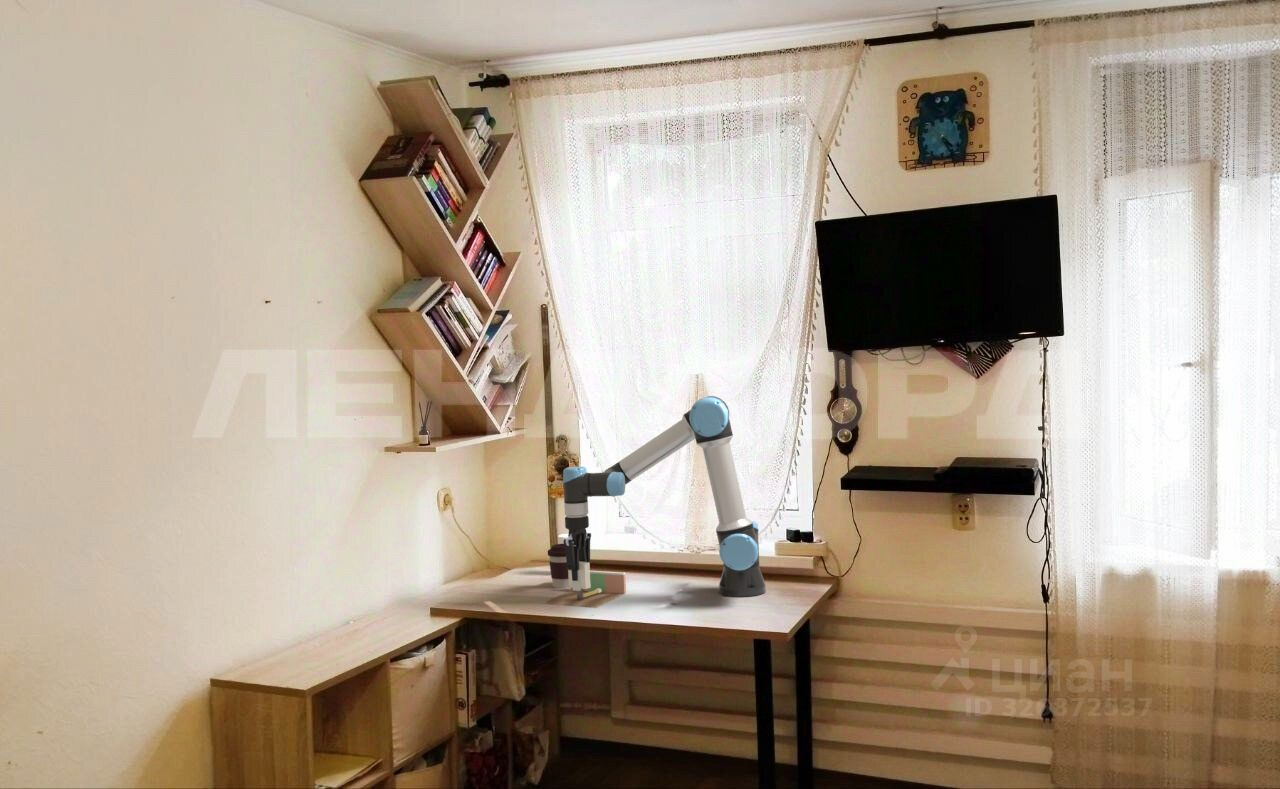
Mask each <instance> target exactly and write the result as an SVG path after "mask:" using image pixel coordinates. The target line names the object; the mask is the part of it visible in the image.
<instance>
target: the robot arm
mask: <svg viewBox="0 0 1280 789" xmlns="http://www.w3.org/2000/svg"><path fill="white" fill-rule="evenodd" d="M733 437H734V434H733V430H732V425H731V420H730V409H729V406H728V404H727V403H726V402H725V401H724V400H723V399H721V398H720V397H717V396H714V395H708V396H705V397H702V398H700V399H697V401H695V403H693V404H692V406H691V408H690V409H689V410H688V411H687V412H686V413H684V414H682V419H681V420H679V421H677V422H676V423H674V424H672V425H671V426H670V427H669V428H667V429H665V430H664V431H662V432H661V433H659V434H658V435H656V436H655V437H653V438H652V439H650V440H649V441H647V442H646V443H644V444H643V445H641V446H640V447H639V448H636V449H635V450H634V451H633V452H631V453H629V454H628V455H627V456H625V457H623V458H622V459H621V460H620V461H618V462H616V463H615V464H613V465H612V466H610V467H608V468H607V469H605V470H604V471H602V472H588V470H587V467H586V466H569V467H566V468H564V469H563V471H562V474H563V476H562V479H563V480H562V485H563V486H562V487H563V488H562V489H563V502H564V515H565V517H564V525H565V526H564V527H565V529H566V530H568V533H567V534H568V538H567V539H564V545H565V551H566V561H567V569H568V570H571V571H572V587H573V590H574V591H581V575H580V570H579V561H580V562H590V563H591V537H592V533H591V532H587V529H588V528H589V526H590V523H589V521H590V520H589V516H588V514H589V500H588V498H589V497H618V496H619V497H620V496H623V495H624V494H625V493H626V492H625V491H626V485H627V484H629V483H630V482H631V481H633V480H635V479H636V478H638V477H639V476H641V475H642V474H644V473H645V472H647V471H648V470H650V469H651V468H653V467H654V466H656V465H657V464H659V463H660V462H662V461H664V460H665V459H667V458H668V457H670V456H671V455H673V454H674V453H676V452H678V450H679V451H680V449H682V448H683V447H685V446H687V445H688V444H689V443H691V442H692V441H694V440H695V442H696V445H697V446H699V447H700V448H701V449H702V452H703V456H704V460H705V465H706V469H707V473H708V480H709V483H710V487H711V491H712V497H713V500H714V501H713V502H714V505H715V510H716V514H717V518H718V524H717V526H716V528H715V532H716V536H717V541H718V545H719V551H718V552H719V557H720V560H721V561H722V562H723V569H722V573H721V577H720V581H719V583H718V584H719V585H718V593H719V594H721V595H722V596H727V597H737V598H738V597H755V596H758V595H759V596H760V595H763V594H764V593H766V591H767V588H766V586H767V584H766V582H765V580H764V576H763V573H762V571H761V570H762V569H761V568H760V567H761V566H760V550H759V549H760V546H759V545H760V544H759V526H758V525H759V524H758V522H756V521H755V520H750V518H748V517H747V514H746V510H745V507H744V506H745V505H744V502H743V497H742V492H741V489H740V483H739V478H738V475H737V474H738V473H737V471H736V470H737V469H736V466H735V460H734V458H733V457H734V456H733V452H732V447H731V443H730V442H731V440H732V439H733Z"/></svg>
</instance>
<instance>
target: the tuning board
mask: <svg viewBox="0 0 1280 789" xmlns="http://www.w3.org/2000/svg"><path fill="white" fill-rule="evenodd" d="M587 592H590V591H583V594H584V593H587ZM623 595H624V594H621V593H606V592H600V593H596V594H593V595H590V596H587V597H584V598H583V600H580V601H579V600H577V591H574V590H571V589H570V590H568V591H565V592H564V593H561V594H560V595H556V596H554V597H552V598H549V599H547V600H545V601H543V602H540V603H539V604H540V605H553V606H554V605H555V606H566V607H569V606H570V607H578V608H579V607H580V608H593V609H596V608H599V607H601V606H602V605H604V604H607V603H609V602H611V601H613V600H615V599H617V598H619V597H620V596H623Z"/></svg>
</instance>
